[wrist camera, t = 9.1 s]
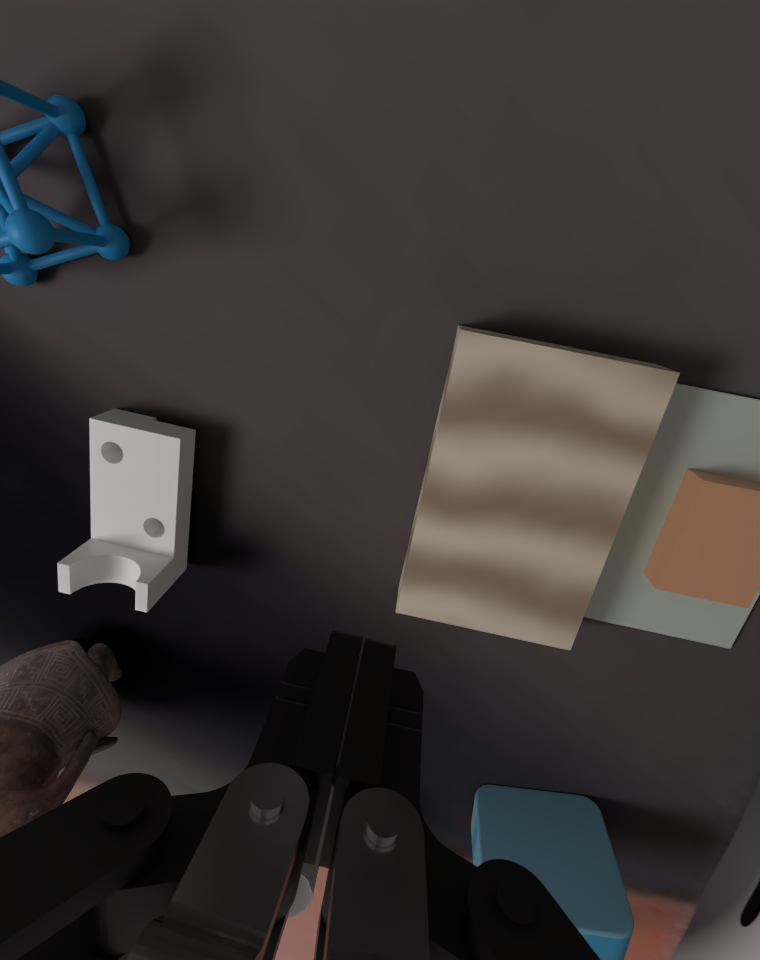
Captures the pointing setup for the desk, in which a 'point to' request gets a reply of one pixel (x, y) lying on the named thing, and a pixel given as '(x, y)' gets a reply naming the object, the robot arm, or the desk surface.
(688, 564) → the tile
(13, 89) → the molecular structure
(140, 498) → the bracket
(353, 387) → the desk surface
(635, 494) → the mat
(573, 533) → the light wood flat block
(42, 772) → the clay figurine
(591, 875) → the data package
